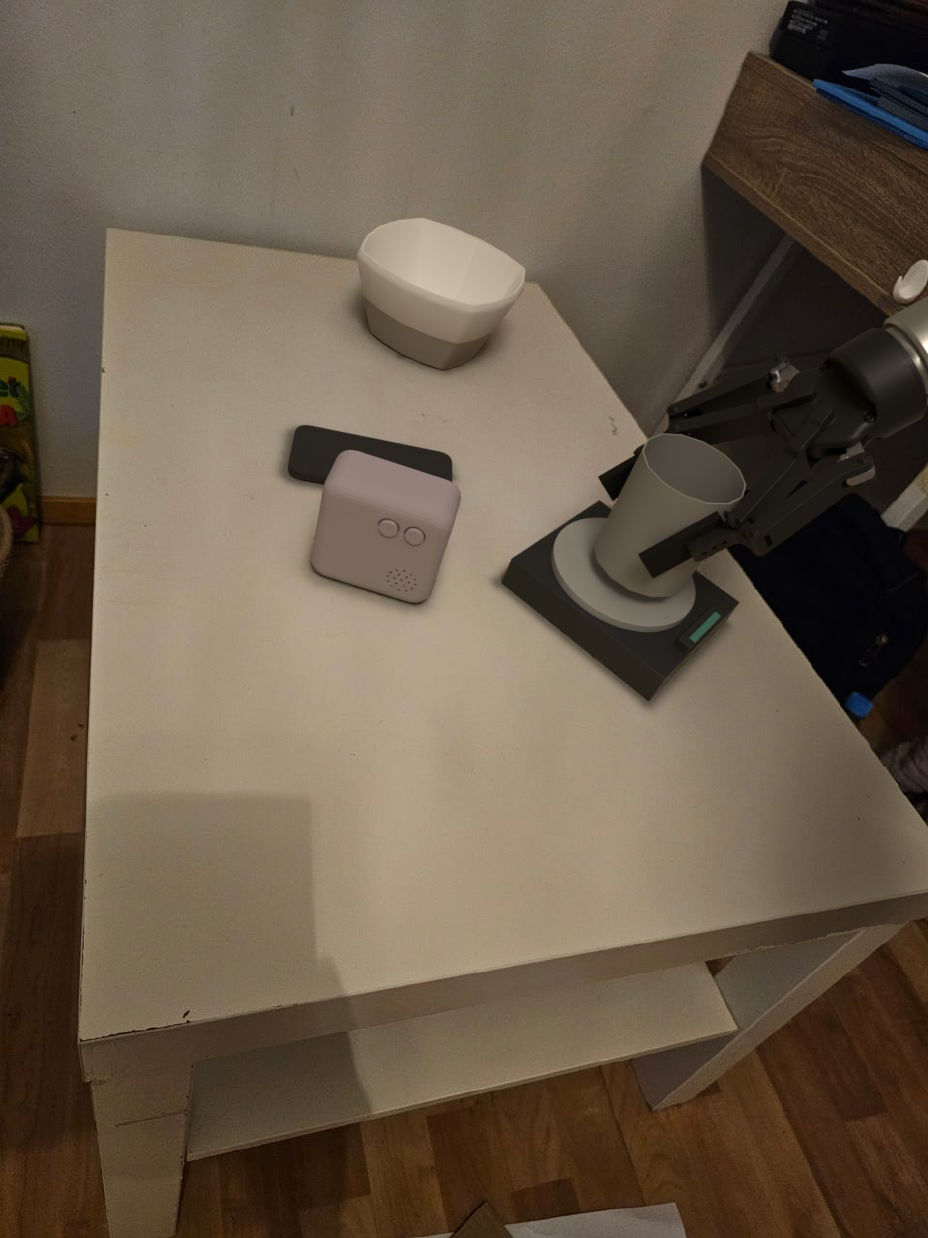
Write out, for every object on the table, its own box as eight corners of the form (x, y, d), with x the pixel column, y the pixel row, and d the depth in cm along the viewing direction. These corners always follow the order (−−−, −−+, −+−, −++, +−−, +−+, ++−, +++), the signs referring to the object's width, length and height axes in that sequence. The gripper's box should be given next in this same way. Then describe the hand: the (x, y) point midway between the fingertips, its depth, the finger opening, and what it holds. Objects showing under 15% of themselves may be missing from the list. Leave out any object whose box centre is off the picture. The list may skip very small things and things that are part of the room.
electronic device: (304, 577, 66) (321, 480, 59) (320, 540, 70) (338, 444, 63) (424, 615, 67) (454, 523, 60) (435, 576, 70) (465, 485, 63)
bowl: (319, 328, 92) (331, 245, 85) (399, 281, 104) (415, 205, 97) (457, 401, 89) (481, 322, 82) (523, 344, 101) (548, 270, 95)
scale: (723, 623, 76) (745, 593, 73) (648, 701, 67) (670, 670, 64) (587, 522, 81) (603, 491, 78) (501, 582, 72) (515, 549, 69)
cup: (675, 612, 67) (736, 520, 60) (583, 567, 68) (632, 471, 60) (694, 554, 73) (751, 463, 66) (608, 513, 73) (656, 419, 66)
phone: (296, 421, 78) (452, 453, 81) (296, 429, 79) (450, 459, 82) (286, 470, 73) (452, 502, 76) (285, 477, 74) (450, 508, 77)
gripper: (994, 494, 57) (691, 649, 63) (836, 327, 70) (597, 468, 76) (994, 425, 51) (660, 602, 57) (822, 257, 64) (564, 415, 70)
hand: (624, 526), depth 66 cm, fingers closed on cup, 8 cm apart
